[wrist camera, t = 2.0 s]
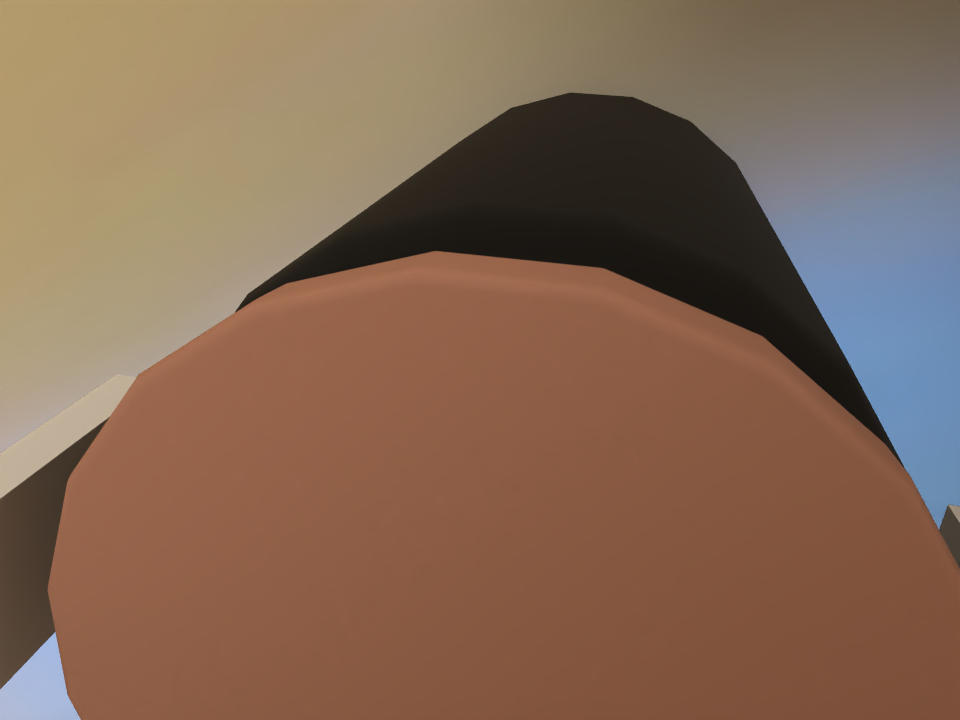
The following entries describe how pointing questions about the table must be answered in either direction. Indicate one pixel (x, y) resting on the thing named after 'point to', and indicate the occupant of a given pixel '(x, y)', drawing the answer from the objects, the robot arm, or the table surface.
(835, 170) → the table surface
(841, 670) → the coffee jar
